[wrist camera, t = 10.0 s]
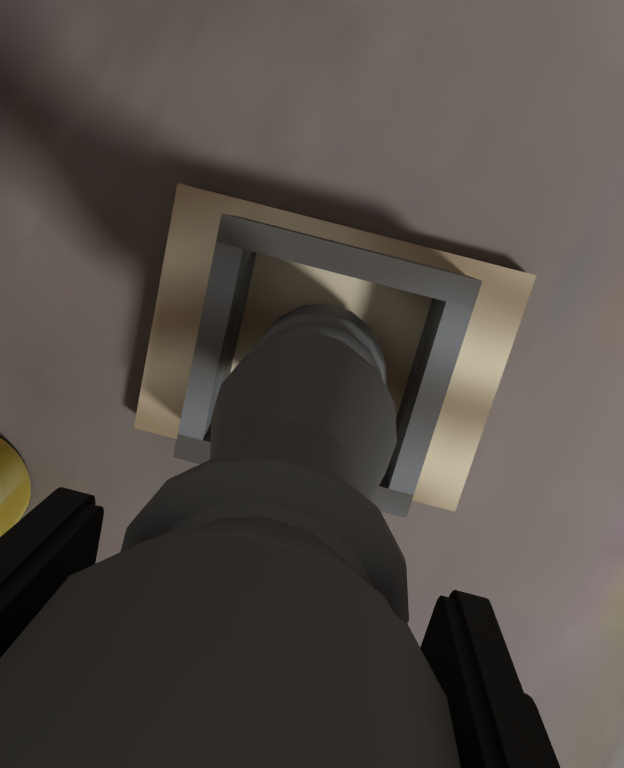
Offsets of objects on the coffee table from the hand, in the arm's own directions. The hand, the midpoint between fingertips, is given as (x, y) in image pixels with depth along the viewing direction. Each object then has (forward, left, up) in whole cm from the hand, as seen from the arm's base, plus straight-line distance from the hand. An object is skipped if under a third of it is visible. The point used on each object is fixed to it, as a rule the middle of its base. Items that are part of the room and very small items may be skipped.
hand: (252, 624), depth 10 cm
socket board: (0, 0, -23) cm, 23 cm away
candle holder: (0, 0, -20) cm, 20 cm away
